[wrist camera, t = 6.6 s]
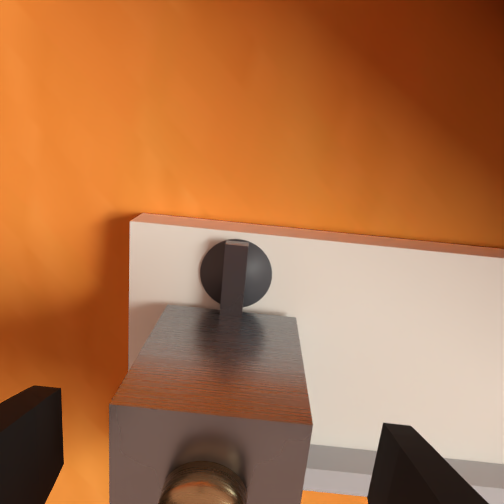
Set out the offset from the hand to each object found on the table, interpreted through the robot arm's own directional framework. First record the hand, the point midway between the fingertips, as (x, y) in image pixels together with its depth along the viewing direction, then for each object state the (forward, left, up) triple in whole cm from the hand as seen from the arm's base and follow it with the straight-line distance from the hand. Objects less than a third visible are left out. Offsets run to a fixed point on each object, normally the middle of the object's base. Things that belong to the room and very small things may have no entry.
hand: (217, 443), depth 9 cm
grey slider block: (0, 0, -3) cm, 3 cm away
